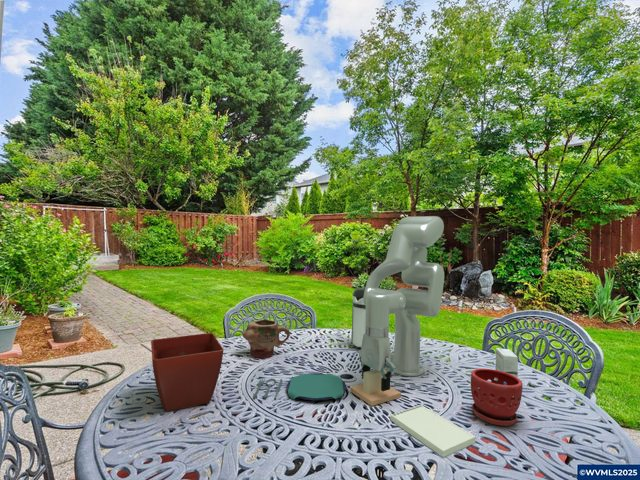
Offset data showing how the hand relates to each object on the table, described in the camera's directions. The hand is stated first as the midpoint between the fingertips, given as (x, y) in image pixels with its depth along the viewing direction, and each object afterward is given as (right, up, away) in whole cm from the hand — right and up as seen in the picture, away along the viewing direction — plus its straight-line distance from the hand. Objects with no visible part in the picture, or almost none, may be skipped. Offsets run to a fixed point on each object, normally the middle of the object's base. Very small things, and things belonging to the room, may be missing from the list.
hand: (375, 384), depth 109 cm
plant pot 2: (+32, -5, -12) cm, 35 cm away
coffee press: (+3, -3, +47) cm, 48 cm away
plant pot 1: (-59, -2, -6) cm, 60 cm away
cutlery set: (-24, -4, +3) cm, 25 cm away
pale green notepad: (+11, -4, -20) cm, 23 cm away
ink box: (+48, -5, +10) cm, 49 cm away
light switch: (0, -4, 0) cm, 4 cm away
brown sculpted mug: (-41, -2, +34) cm, 53 cm away
